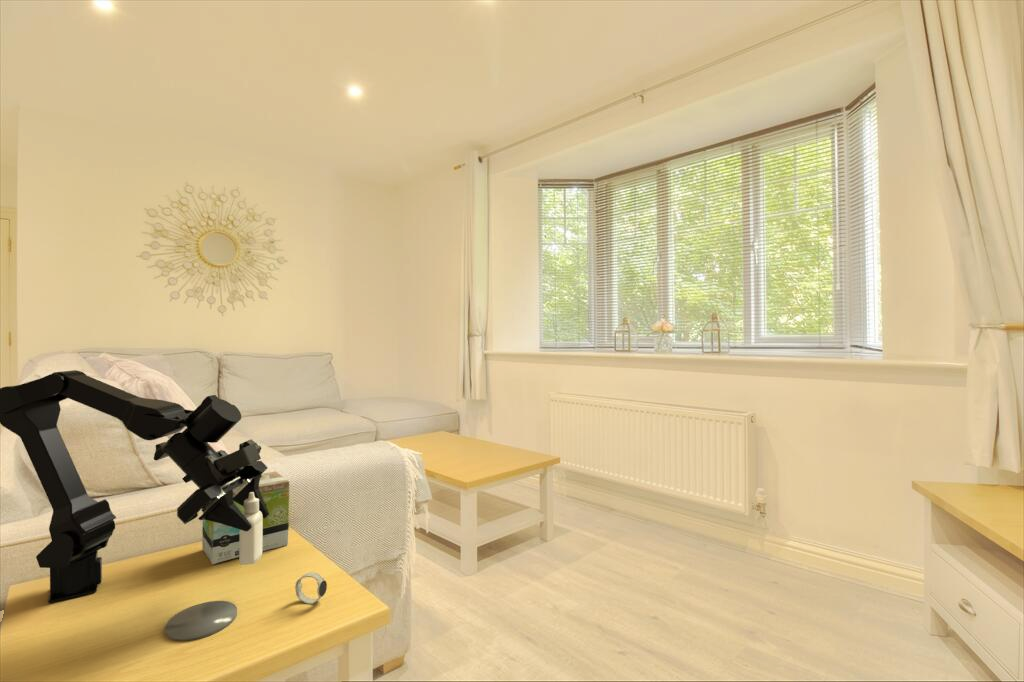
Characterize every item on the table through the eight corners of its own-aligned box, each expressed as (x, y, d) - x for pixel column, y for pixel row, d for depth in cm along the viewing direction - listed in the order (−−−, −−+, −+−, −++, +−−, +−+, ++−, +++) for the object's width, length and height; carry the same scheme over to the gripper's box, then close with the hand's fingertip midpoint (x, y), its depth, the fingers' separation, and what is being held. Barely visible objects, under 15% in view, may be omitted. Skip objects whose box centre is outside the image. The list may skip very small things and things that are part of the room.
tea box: (212, 567, 99) (211, 494, 98) (201, 549, 106) (201, 482, 106) (290, 545, 109) (290, 479, 108) (275, 531, 116) (275, 469, 116)
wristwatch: (319, 607, 85) (319, 579, 85) (292, 604, 86) (292, 576, 86) (328, 598, 88) (328, 571, 88) (302, 595, 88) (302, 568, 88)
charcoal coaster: (165, 649, 73) (165, 645, 73) (164, 616, 82) (164, 613, 82) (241, 625, 79) (241, 622, 79) (233, 597, 87) (232, 594, 87)
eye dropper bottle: (272, 553, 91) (273, 489, 90) (248, 567, 85) (249, 499, 85) (253, 549, 92) (253, 486, 91) (228, 563, 86) (228, 496, 86)
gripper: (195, 441, 78) (263, 512, 79) (258, 419, 97) (312, 476, 97) (146, 488, 79) (214, 558, 79) (218, 457, 97) (272, 514, 98)
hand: (258, 522), depth 88 cm, fingers closed on eye dropper bottle, 5 cm apart
